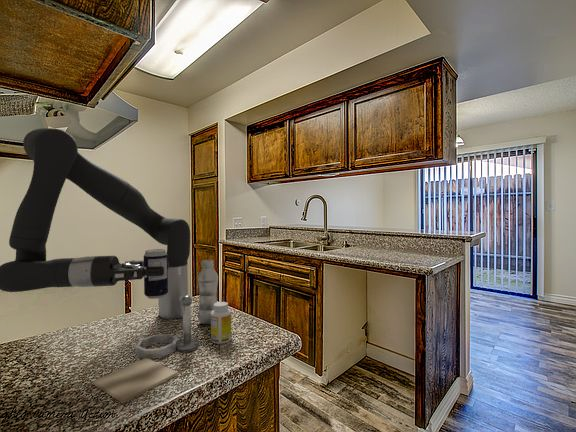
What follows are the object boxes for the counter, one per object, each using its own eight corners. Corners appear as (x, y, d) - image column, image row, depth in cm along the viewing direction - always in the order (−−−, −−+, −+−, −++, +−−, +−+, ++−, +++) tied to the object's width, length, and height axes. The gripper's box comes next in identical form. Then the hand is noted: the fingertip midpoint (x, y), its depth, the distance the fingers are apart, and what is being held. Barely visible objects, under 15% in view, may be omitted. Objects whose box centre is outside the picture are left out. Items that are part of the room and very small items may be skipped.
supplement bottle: (233, 336, 89) (232, 300, 89) (229, 344, 84) (228, 306, 83) (213, 336, 89) (213, 300, 89) (208, 344, 84) (208, 307, 83)
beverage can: (172, 293, 83) (171, 249, 83) (161, 300, 78) (160, 252, 77) (151, 293, 84) (151, 248, 84) (139, 299, 78) (138, 252, 78)
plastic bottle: (209, 317, 104) (208, 258, 103) (223, 322, 100) (222, 260, 99) (193, 323, 99) (192, 261, 98) (207, 328, 95) (206, 263, 94)
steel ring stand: (129, 351, 80) (128, 299, 79) (173, 334, 91) (172, 288, 90) (160, 366, 73) (158, 308, 72) (203, 345, 83) (203, 294, 83)
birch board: (92, 383, 65) (92, 381, 65) (146, 360, 75) (146, 357, 75) (123, 403, 59) (123, 400, 59) (177, 374, 69) (177, 372, 69)
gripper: (81, 261, 71) (160, 258, 74) (105, 252, 85) (170, 250, 88) (82, 294, 71) (160, 289, 74) (106, 279, 85) (171, 276, 88)
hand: (166, 268), depth 81 cm, fingers closed on beverage can, 5 cm apart
